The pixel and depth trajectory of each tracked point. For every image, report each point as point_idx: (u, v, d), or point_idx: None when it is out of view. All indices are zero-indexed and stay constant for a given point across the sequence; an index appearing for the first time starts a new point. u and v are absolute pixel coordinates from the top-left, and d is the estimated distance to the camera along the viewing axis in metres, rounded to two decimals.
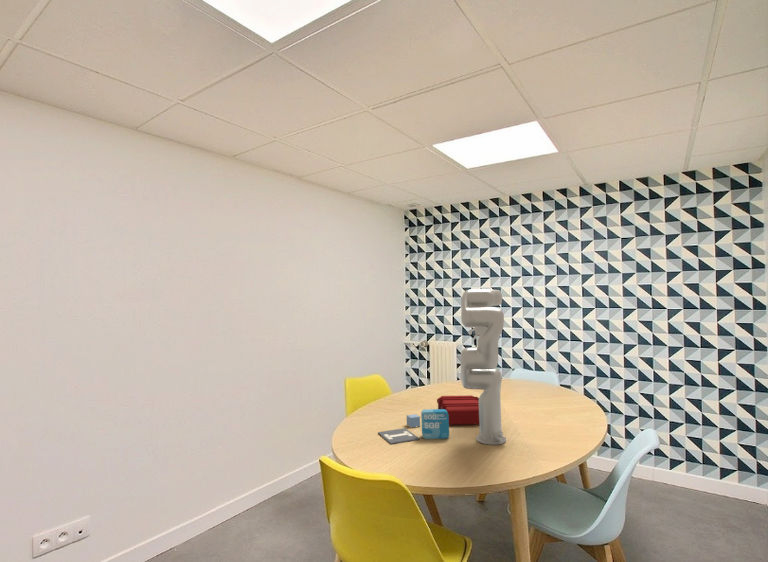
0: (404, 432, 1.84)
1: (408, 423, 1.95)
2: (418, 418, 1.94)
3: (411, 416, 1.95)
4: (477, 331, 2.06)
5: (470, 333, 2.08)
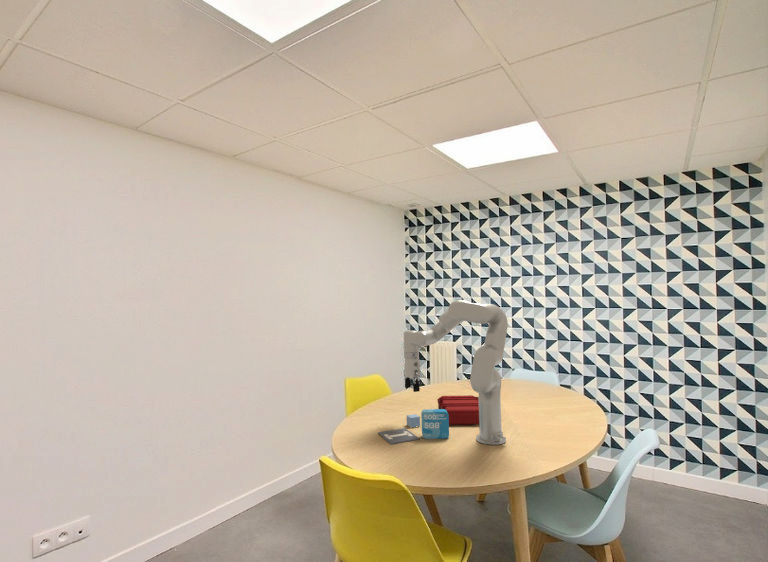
0: (404, 432, 1.84)
1: (408, 423, 1.95)
2: (418, 418, 1.94)
3: (411, 416, 1.95)
4: None
5: (419, 377, 1.90)
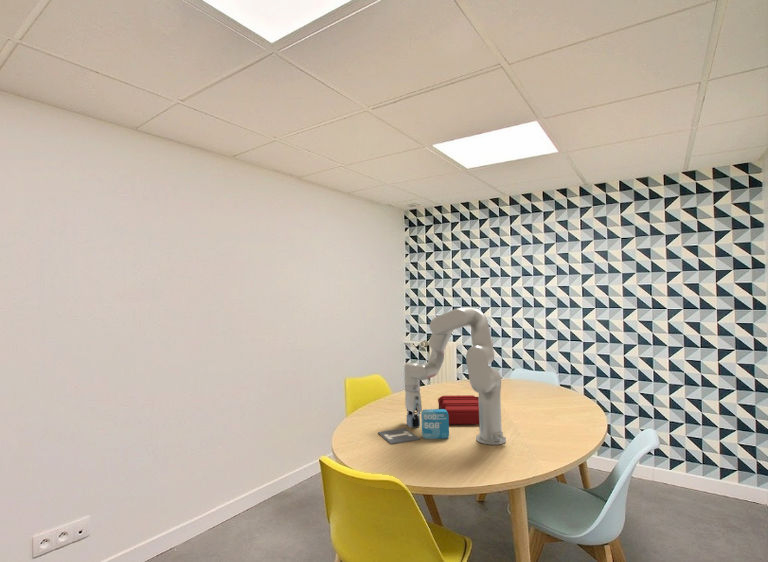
0: (404, 432, 1.84)
1: (408, 423, 1.95)
2: None
3: (411, 416, 1.95)
4: None
5: None
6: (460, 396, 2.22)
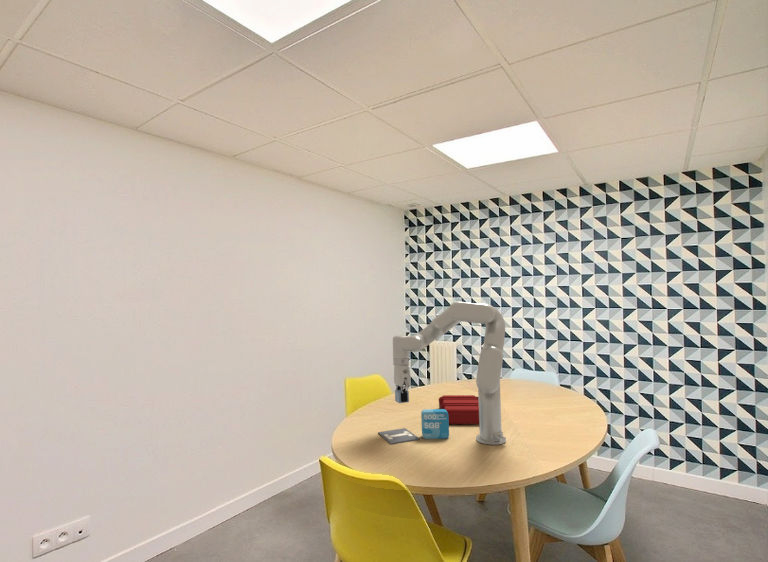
0: (404, 432, 1.84)
1: (396, 398, 1.85)
2: None
3: (399, 391, 1.86)
4: None
5: None
6: (461, 396, 2.23)
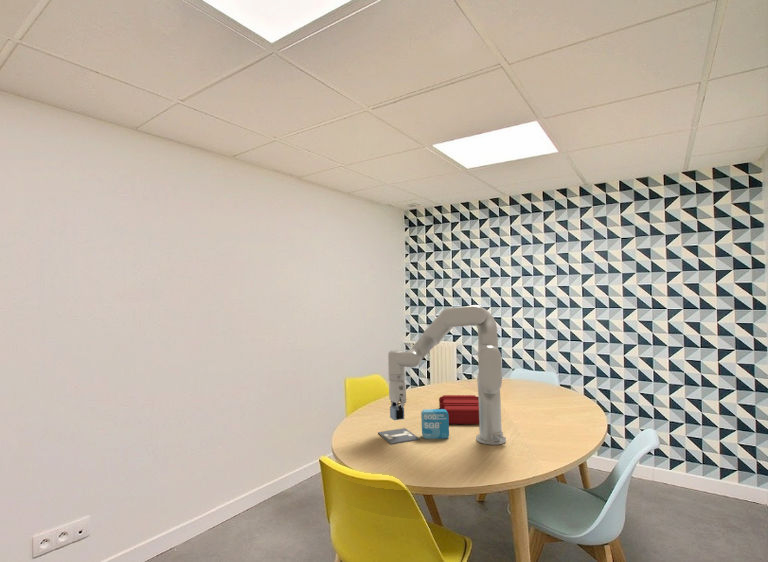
0: (404, 432, 1.84)
1: (391, 415, 1.81)
2: None
3: (395, 407, 1.81)
4: None
5: None
6: (461, 396, 2.23)
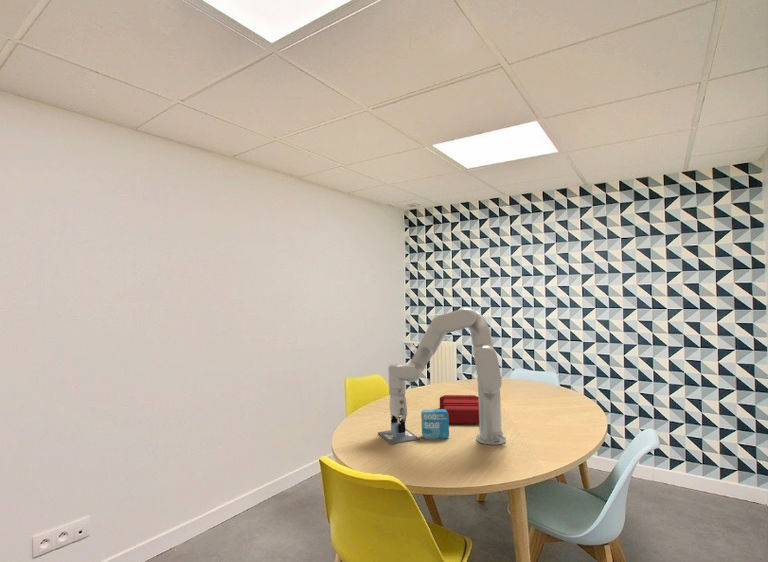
0: None
1: (393, 432, 1.80)
2: None
3: (396, 424, 1.80)
4: None
5: None
6: (461, 396, 2.23)
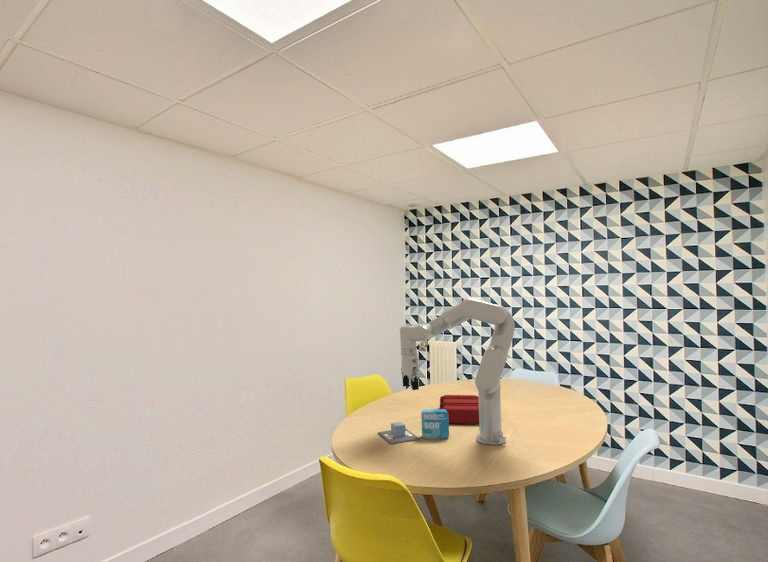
0: None
1: (393, 432, 1.80)
2: (403, 426, 1.79)
3: (396, 424, 1.80)
4: None
5: None
6: (462, 396, 2.23)
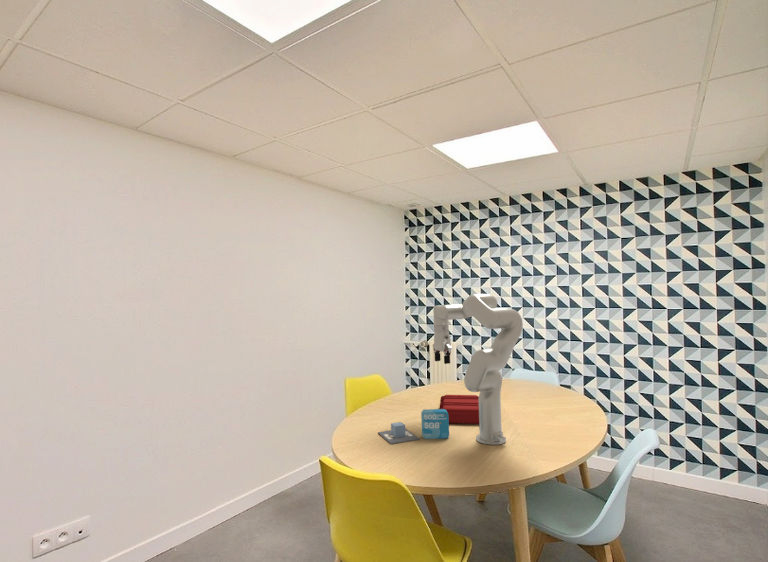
0: None
1: (393, 432, 1.80)
2: (403, 426, 1.79)
3: (396, 424, 1.80)
4: None
5: None
6: (463, 395, 2.23)
